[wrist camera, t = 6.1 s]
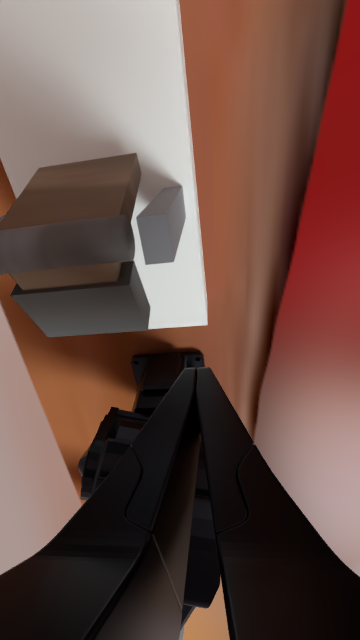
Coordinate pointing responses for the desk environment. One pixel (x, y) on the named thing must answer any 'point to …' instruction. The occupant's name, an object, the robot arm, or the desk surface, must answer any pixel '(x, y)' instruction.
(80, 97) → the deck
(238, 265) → the desk surface
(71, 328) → the lever
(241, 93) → the desk surface
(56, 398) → the desk surface
